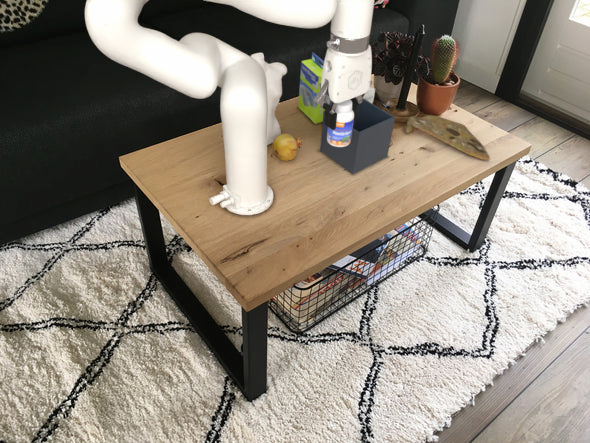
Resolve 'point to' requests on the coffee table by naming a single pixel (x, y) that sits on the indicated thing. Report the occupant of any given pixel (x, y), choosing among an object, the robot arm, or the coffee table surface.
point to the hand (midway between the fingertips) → (340, 121)
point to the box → (311, 88)
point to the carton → (362, 139)
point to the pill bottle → (342, 125)
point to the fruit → (285, 147)
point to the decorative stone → (449, 134)
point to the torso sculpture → (272, 93)
